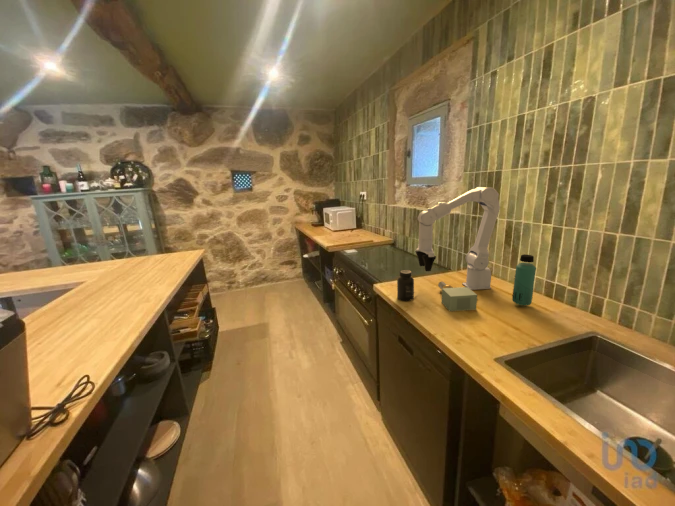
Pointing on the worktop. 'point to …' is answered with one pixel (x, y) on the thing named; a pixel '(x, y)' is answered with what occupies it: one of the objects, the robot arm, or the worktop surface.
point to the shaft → (444, 285)
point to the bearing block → (459, 299)
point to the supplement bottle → (405, 286)
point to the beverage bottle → (524, 281)
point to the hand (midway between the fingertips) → (425, 268)
